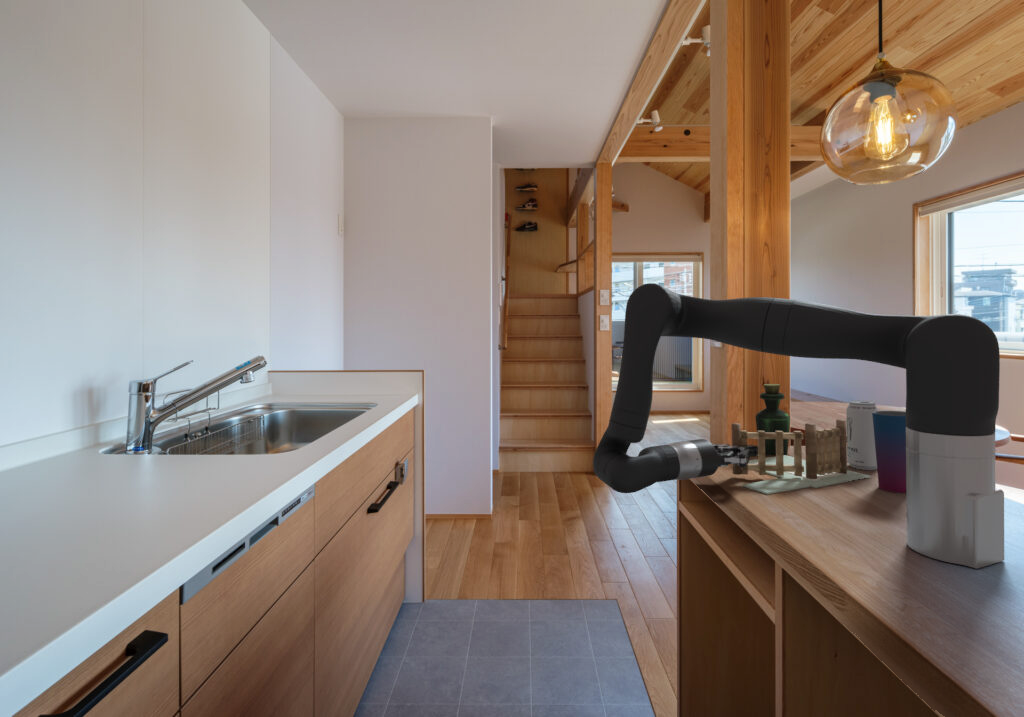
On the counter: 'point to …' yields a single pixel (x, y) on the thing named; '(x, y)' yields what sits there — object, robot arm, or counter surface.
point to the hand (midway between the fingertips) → (755, 450)
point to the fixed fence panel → (825, 449)
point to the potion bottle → (773, 418)
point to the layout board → (798, 478)
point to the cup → (890, 449)
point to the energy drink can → (861, 435)
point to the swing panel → (741, 440)
